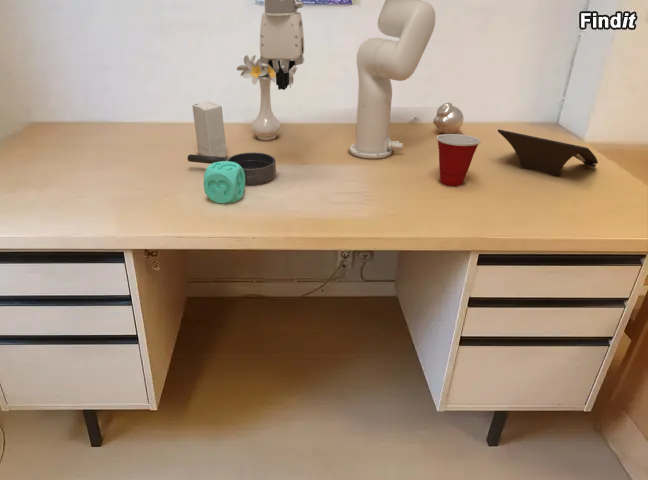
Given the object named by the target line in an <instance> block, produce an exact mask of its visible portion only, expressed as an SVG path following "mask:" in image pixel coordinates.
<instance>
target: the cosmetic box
mask: <svg viewBox="0 0 648 480" xmlns="http://www.w3.org/2000/svg"><path fill="white" fill-rule="evenodd" d="M191 107H192V115H193V122H194V129H195V137H196V146H197V152H198V153H197V154H198V155H203V156H213V157H224V158H228V153H227V152H228V151H227V143H226V134H225V124H224V116H223V115H224V114H223V106H222V105H219V104H217V103H214V102H213V101H210V100H208V101H204V102H198V103H195V104H192V105H191Z"/></svg>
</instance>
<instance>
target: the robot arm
mask: <svg viewBox="0 0 648 480" xmlns="http://www.w3.org/2000/svg"><path fill="white" fill-rule="evenodd" d="M263 7H264V8H263V9H264V12H263V13H261V19H260V30H259V53H260V56H261V59H260V58H259V59H260V61H261V63H264V64H267V65H270V66H271V67H272V69H273V70H274V72H275V73H276V78H275V79H276V81H275V85H276V86H277V90H279V91H280V90H283V91H285V90H287V88H288V87H289V86H290V84H289V71H290V70H291V69H292V68H293V67H294V66H295V65H296V66H298V65H299V66H300V65H303V63H305V57H304V54H305V35H304V26H303V25H304V24H303V17H302V13H301V12H299V11H298V10H299V9H302V8H304V2H303V1H301V0H263ZM435 26H436V11H435V8H434V6H433V5H432V4H431V3H429V2H428V1H425V0H384V3H383V5H382V8H381V9H380V13H379V15H378V19H377V28H378V30H379V31H380V33H382V34H383V35H385V36H387V37H391V38H397V39H398V38H399V39H398V40H393V39H390V38H389V39H388V38H382V37H371V38H370V37H369V38H368V39H366V40H364V41H363V42H362V43H361V44H360V45H359V47H358V48H357V52H356V69H357V76H358V91H357V107H356V123H355V124H356V125H355V140H354V141H355V142H354V143H353V144H351V145H350V146H349V153H350V154H351V155H353V156H355V157H357V158H361V159H370V160H371V159H375V160H376V159H383V158H386V157H387V158H388V157H389V156H391V155H392V154H393V150H398V151H399V150H400V151H402V150H403V146H404V144H403V142H400V140H392V139H391V135H390V134H389V132H390V122H391V121H390V120H391V110H392V109H391V108H392V100H393V86H392V82H391V81H392V80H393V81H398V82H402V81H403V82H404V81H406V80H408V79H409V78H411V77H412V75H413V74H414V73H415V71H416V69H417V67H418V65H419V64H420V61H421V59H422V57H423V54H424V53H425V50H426V48H427V47H428V44H429V42H430V39H431V37H432V35H433V32H434V29H435ZM280 59H281V60H284V66H283V67H284V68H283V70H282V68H281V61H280Z"/></svg>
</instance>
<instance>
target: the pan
mask: <svg viewBox="0 0 648 480" xmlns="http://www.w3.org/2000/svg"><path fill="white" fill-rule="evenodd" d="M276 160H277V159H276V158H275V157H274V156H273V155H271V154H269V153H264V152H256V151H255V152H252V151H251V152H249V151H248V152H242V153H236V154H233V155H231V156H228V157H227V160H226V161H231V162H235V163H237V164H239V165H240V166H241V167H242V168H243V170H244V173H245V186H260V185H264V184H267V183H271V182H272V181H273V180H274V179H275V178H276V176H277V161H276Z"/></svg>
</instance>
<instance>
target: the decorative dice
mask: <svg viewBox="0 0 648 480" xmlns="http://www.w3.org/2000/svg"><path fill="white" fill-rule="evenodd" d="M245 187H246V185H245V173H244V170H243V168H242V167H241V166H240V165H239V164H237V163H235V162H231V161H220V162H215V163H212V164H209V165H208V166H207V167H206V169H205V170H204V175H203V190H204V194H205V195H206V196H207V198H208V199H209V200H210V201H212V202H214V203H217V204H232V203H235V202H238V201H239V200H240V199H242V197H243V196H244V192H245Z"/></svg>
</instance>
